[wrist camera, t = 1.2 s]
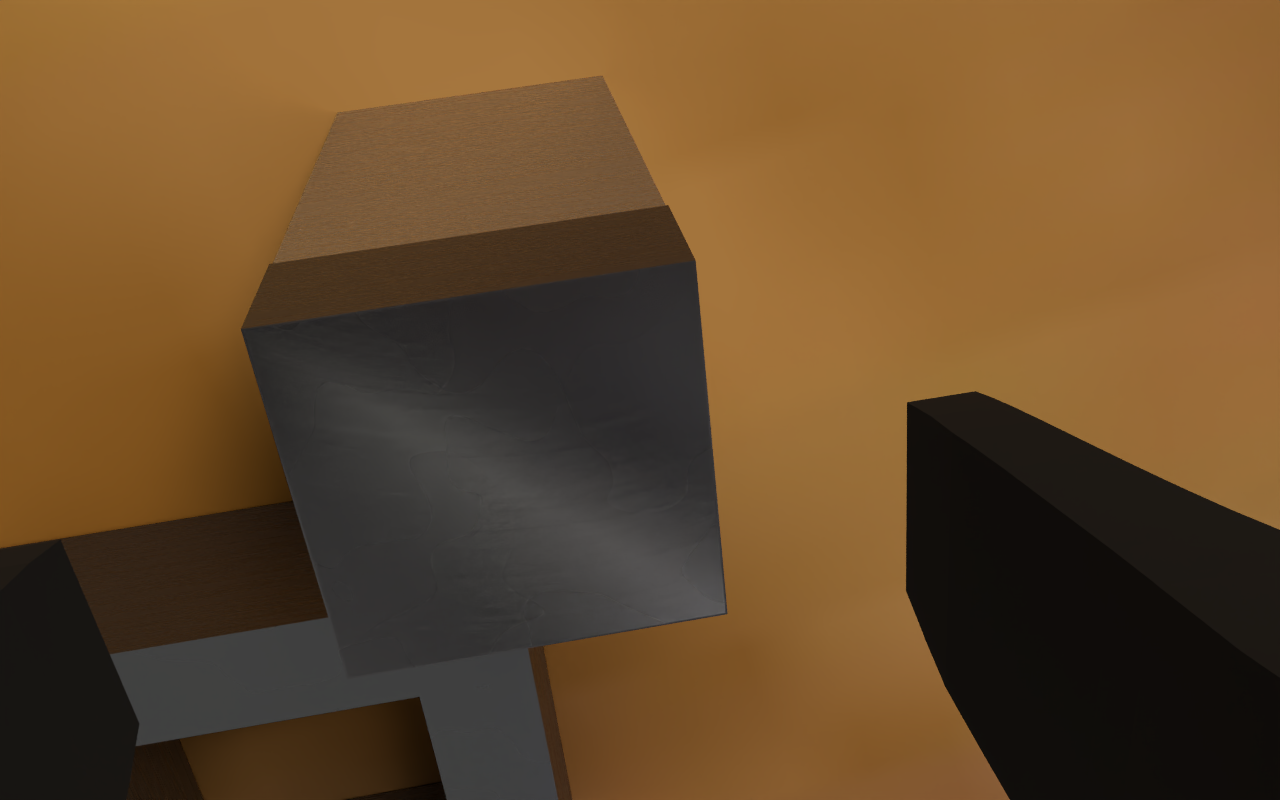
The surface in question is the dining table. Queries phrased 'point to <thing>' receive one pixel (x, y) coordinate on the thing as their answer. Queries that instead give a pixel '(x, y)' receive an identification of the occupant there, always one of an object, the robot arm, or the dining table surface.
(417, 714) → the dining table surface
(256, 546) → the socket block
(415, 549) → the key peg
